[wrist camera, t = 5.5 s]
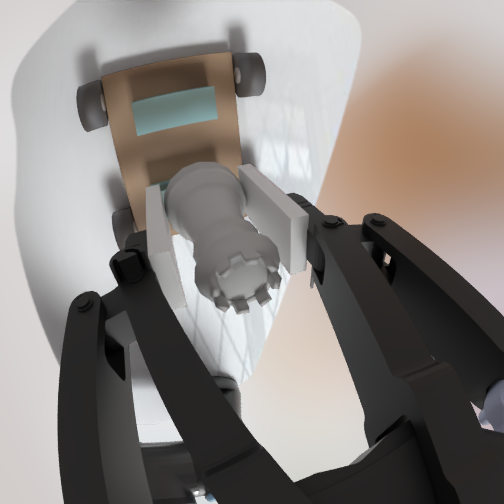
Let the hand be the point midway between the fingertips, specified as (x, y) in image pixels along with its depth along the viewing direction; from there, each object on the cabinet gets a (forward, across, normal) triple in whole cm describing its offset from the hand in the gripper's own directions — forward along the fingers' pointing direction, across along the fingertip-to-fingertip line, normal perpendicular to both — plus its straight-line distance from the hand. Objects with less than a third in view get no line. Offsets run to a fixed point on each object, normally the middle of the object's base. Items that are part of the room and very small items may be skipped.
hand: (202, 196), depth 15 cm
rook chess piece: (0, 0, 0) cm, 0 cm away
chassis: (+13, 0, 0) cm, 13 cm away
